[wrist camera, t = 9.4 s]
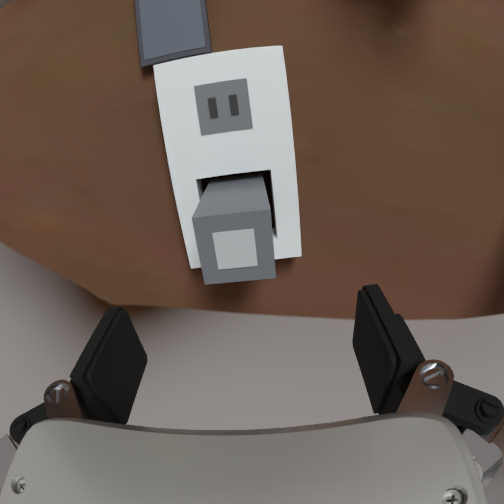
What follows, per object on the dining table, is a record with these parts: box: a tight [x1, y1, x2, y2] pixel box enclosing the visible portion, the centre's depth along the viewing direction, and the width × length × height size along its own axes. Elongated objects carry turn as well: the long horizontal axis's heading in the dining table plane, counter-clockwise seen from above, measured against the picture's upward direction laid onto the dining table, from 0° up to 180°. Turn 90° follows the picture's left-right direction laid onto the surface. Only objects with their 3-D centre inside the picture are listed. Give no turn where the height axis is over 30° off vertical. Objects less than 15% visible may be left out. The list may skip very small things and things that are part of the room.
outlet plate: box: [153, 46, 301, 269], centre depth 24 cm, size 10×18×3 cm, turn 7°
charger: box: [192, 173, 276, 285], centre depth 22 cm, size 4×4×10 cm
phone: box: [135, 0, 212, 68], centre depth 18 cm, size 6×11×1 cm, turn 7°
